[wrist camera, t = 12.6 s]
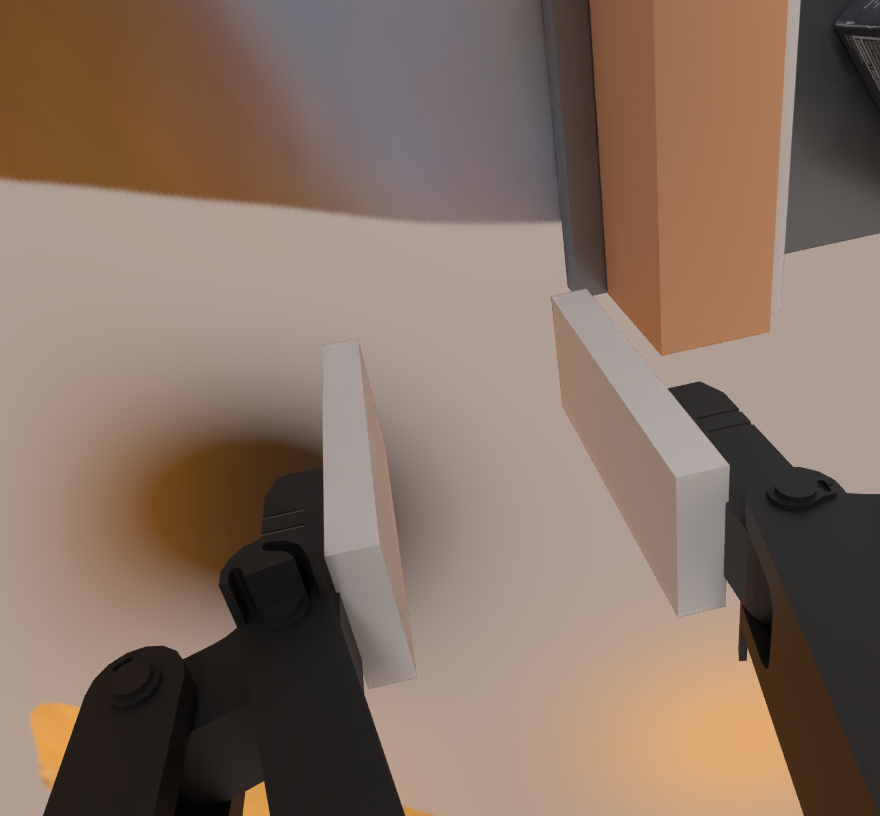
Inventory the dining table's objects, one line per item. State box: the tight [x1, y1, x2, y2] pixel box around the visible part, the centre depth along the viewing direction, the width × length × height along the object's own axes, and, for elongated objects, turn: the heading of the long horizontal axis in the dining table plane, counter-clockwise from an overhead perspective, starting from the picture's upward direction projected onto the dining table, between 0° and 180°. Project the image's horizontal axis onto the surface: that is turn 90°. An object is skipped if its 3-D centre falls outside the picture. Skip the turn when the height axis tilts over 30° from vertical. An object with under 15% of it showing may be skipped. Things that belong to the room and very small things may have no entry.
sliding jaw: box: [589, 0, 801, 356], centre depth 27 cm, size 5×12×6 cm, turn 10°
